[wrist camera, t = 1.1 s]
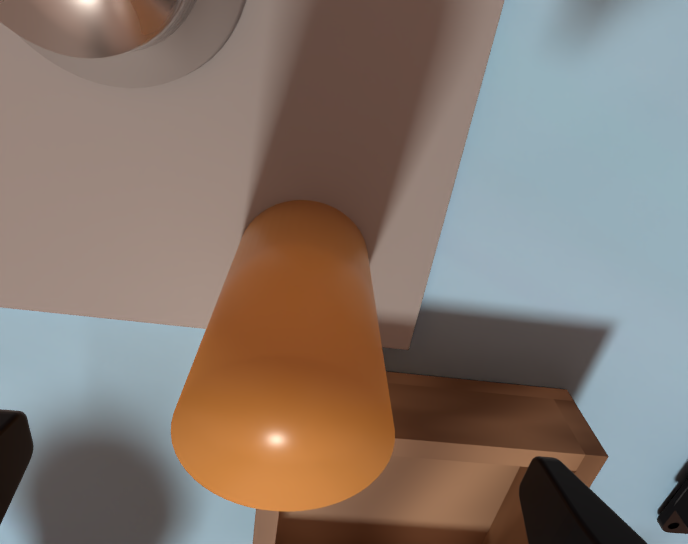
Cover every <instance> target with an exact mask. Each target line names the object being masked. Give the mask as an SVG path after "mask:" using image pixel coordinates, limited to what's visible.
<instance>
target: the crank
mask: <svg viewBox="0 0 688 544" xmlns="http://www.w3.org/2000/svg"><path fill="white" fill-rule="evenodd" d="M195 2H196V0H0V22H1V23H2V24H4V25H5V26H6V27H8V28H9V29H10V30H11V31H13V32H14V33H16V34H18V35H19V36H21V37H22V38H24V39H26V40H27V41H29V42H31V43H33V44H35V45H37V46H39V47H41V48H44V49H46V50H49V51H52V52H55V53H58V54H62V55H66V56H71V57H77V58H88V59H91V58H105V57H110V56H115V55H120V54H124V53H129V52H134V51H138V50H143V49H146V48H149V47H151V46H154V45H156V44H158V43H160V42H162V41H163V40H165V39H167V38H168V37H169V36H170V35H172V34H173V33H174V32H175V31H176V30H177V29H178V28H179V27H180V26H181V25H182V24H183V23H184V21H185V20H186V18H187V17H188V15H189V14H190V12H191V11H192V9H193V7H194V5H195Z"/></svg>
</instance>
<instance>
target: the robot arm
mask: <svg viewBox="0 0 688 544" xmlns="http://www.w3.org/2000/svg"><path fill="white" fill-rule="evenodd" d="M32 453H33V440H32V436H31V432H30V428H29V424H28V420H27V417H26V415H25V414H24V413H23V412H21V411H14V410H0V524H1V522H2V520H3V518H4V516H5V514H6V511H7V509H8V507H9V505H10V503H11V501H12V498H13V496H14V494H15V492H16V490H17V488H18V485H19V483H20V481H21V479H22V477H23V475H24V472H25V470H26V468H27V466H28V464H29V462H30V459H31V457H32ZM519 499H520V504H521V509H522V514H523V519H524V524H525V529H526V534H527V539H528V544H647V543H646V542H645V541H644V540H643V539H642V538H641V537H640V536H639V535H638V534H637V533H636V532H635V531H634V530H633V529H632V528H631V527H630V526H628V525H627V524H626V523H625V522H624V521H623V520H622V519H621V518H620V517H619V516H618V515H617V514H616V513H615V512H614V511H613V510H612V509H611V508H610V507H609V506H607V505H606V504H605V503H604V502H603V501H602V500H601V499H600V498H599V497H598V496H597V495H596V494H595V493H594V492H593V491H592V490H591V489H590V488H589V487H588V486H587V485H585V484H584V483H583V482H582V481H581V480H580V479H579V478H578V477H577V476H576V475H575V474H574V473H573V472H572V471H571V470H570V469H569V468H568V467H567V466H566V465H564V464H563V463H562V462H561V461H560V460H558V459H557V458H553V457H542V456H536V457H535V458H533V459H532V461H531V462H530V464H529V466H528V468H527V470H526V472H525V474H524V476H523V478H522V480H521V482H520V485H519ZM657 522H658V523H659V525H660V526H661V528H662V530H663V531H665V532H670V533H684V534H688V479H687V480H686V481H685V482H684V484H683V485H682V486H681V488H680V489H679V490H678V492H677V493H676V494H675V496H674V497H673V498H672V499H671V501H670V502H669V503H668V505H667V506H666V507H665V509H664V510H663V511H662V513H661V514H660V515H659V516H658V518H657Z"/></svg>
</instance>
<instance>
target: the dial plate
mask: <svg viewBox="0 0 688 544" xmlns="http://www.w3.org/2000/svg"><path fill="white" fill-rule="evenodd" d="M503 4H504V0H196V2H195V5H194V7H193V9H192V11H191V12H190V14H189V15H188V17H187V18H186V20H185V21H184V23H183V24H182V25H181V26H180V27H179V28H178V29H177V30H176V31H175V32H174V33H173V34H172V35H170V36H169V37H168V38H167V39H165V40H163V41H162V42H160V43H158V44H156V45H154V46H151V47H149V48H146V49H143V50H138V51H134V52H129V53H124V54H120V55H115V56H110V57H105V58H91V59H88V58H77V57H71V56H66V55H62V54H58V53H55V52H52V51H49V50H46V49H44V48H41V47H39V46H37V45H35V44H33V43H31V42H29V41H27V40H26V39H24V38H22V37H21V36H19V35H18V34H16V33H14V32H13V31H11V30H10V29H9V28H8V27H6V26H5V25H4V24H2V23H1V22H0V307H3V308H12V309H22V310H31V311H41V312H51V313H60V314H70V315H79V316H89V317H98V318H108V319H117V320H127V321H136V322H146V323H155V324H165V325H175V326H184V327H194V328H203V329H207V326H208V323H209V321H210V318H211V316H212V313H213V310H214V308H215V305H216V303H217V300H218V298H219V295H220V292H221V290H222V287H223V285H224V282H225V280H226V277H227V274H228V272H229V269H230V267H231V264H232V262H233V259H234V256H235V254H236V251H237V249H238V246H239V244H240V241H241V238H242V236H243V234H244V232H245V230H246V228H247V227H248V225H249V224H250V223H251V222H252V221H253V219H254V218H255V217H257V216H258V215H259V214H260V213H261V212H263V211H264V210H266V209H268V208H270V207H272V206H274V205H276V204H279V203H283V202H287V201H292V200H311V201H316V202H321V203H324V204H327V205H329V206H331V207H334V208H336V209H337V210H339V211H341V212H342V213H344V214H345V215H346V216H347V217H348V218H350V219H351V220H352V221H353V223H354V224H355V225H356V226H357V227H358V229H359V230H360V232H361V234H362V236H363V238H364V240H365V243H366V247H367V252H368V259H369V265H370V272H371V278H372V285H373V291H374V298H375V304H376V311H377V317H378V324H379V331H380V337H381V344H382V347H384V348H394V349H403V350H409V347H410V343H411V339H412V336H413V332H414V328H415V325H416V321H417V317H418V314H419V310H420V306H421V303H422V299H423V295H424V292H425V288H426V285H427V281H428V277H429V274H430V270H431V266H432V263H433V259H434V255H435V252H436V248H437V244H438V241H439V237H440V233H441V230H442V226H443V223H444V219H445V215H446V212H447V208H448V204H449V201H450V197H451V193H452V190H453V186H454V182H455V179H456V175H457V171H458V168H459V164H460V161H461V157H462V153H463V150H464V146H465V142H466V139H467V135H468V131H469V128H470V124H471V120H472V117H473V113H474V109H475V106H476V102H477V98H478V95H479V91H480V88H481V84H482V80H483V77H484V73H485V69H486V66H487V62H488V58H489V55H490V51H491V47H492V44H493V40H494V36H495V33H496V29H497V26H498V22H499V18H500V15H501V11H502V7H503Z"/></svg>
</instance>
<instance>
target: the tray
mask: <svg viewBox="0 0 688 544" xmlns="http://www.w3.org/2000/svg"><path fill="white" fill-rule="evenodd" d="M386 376H387V383H388V389H389V396H390V402H391V409H392V415H393V422H394V428H395V443H394V448H393V452H392V455H391V458H390V460H389V462H388V464H387V465H386V467H385V469H384V470H383V472H382V473H381V474H380V475H379V476H378V478H377V479H376V480H374V481H373V482H372V483H371V484H370V485H369V486H368V487H366V488H365V489H363V490H362V491H361V492H359V493H357V494H356V495H354V496H352V497H350V498H348V499H346V500H343V501H341V502H339V503H336V504H333V505H329V506H326V507H322V508H317V509H312V510H304V511H290V512H286V511H269V510H261V509H256V515H255V525H254V536H253V544H528V539H527V534H526V529H525V524H524V519H523V514H522V509H521V504H520V499H519V485H520V482H521V480H522V478H523V476H524V474H525V472H526V470H527V468H528V466H529V464H530V462H531V461H532V459H533V458H535V457H536V456H542V457H553V458H557V459H558V460H560V461H561V462H562V463H563V464H564V465H566V466H567V467H568V468H569V469H570V470H571V471H572V472H573V473H574V474H575V475H576V476H577V477H578V478H579V479H580V480H581V481H582V482H583V483H584V484H585V485H587V486H588V487H590V486H591V484H592V482H593V481H594V479H595V478H596V476H597V474H598V473H599V471H600V470H601V468H602V466H603V465H604V463H605V461H606V460H607V458H608V455H607V454H606V452H605V450H604V449H603V447H602V446H601V444H600V442H599V441H598V439H597V437H596V436H595V434H594V433H593V431H592V429H591V428H590V426H589V425H588V423H587V421H586V420H585V418H584V417H583V415H582V413H581V412H580V410H579V409H578V407H577V405H576V404H575V402H574V401H573V399H572V397H571V396H570V394H569V392H568V391H567V390H565V389H555V388H545V387H535V386H525V385H515V384H505V383H495V382H485V381H475V380H465V379H455V378H445V377H435V376H425V375H415V374H405V373H395V372H386Z"/></svg>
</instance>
